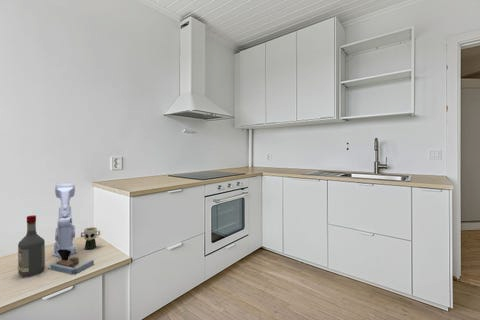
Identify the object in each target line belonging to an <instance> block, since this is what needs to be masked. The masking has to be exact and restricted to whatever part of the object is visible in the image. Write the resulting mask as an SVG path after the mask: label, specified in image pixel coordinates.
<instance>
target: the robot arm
mask: <svg viewBox="0 0 480 320" xmlns="http://www.w3.org/2000/svg"><path fill="white" fill-rule="evenodd" d="M75 185H76V184H75V183H74V182H71V183H70V182H69V183H56V184H55V185H54V186H55V187H54V188H55V189H54V192H55V196H56V198H57V199H59V200H60V204H61V205H60V207H59V208H58V219H57V227H56V228H55V231H54V239H55V242H54V245H53V254H52V256H53V257H58V258H60V259H61V260H65V261H66V260H69V259H70V256H71V255H74V254H76V253H77V251H75V250H76V249H75V247H74V243H73V242H74V241H73V240H74V239H75V238H76V227H75V225H74V224H73V218H72V207H71V206H70V200H71V198H73V197H74V196H75V194H76V193H75V192H76V189H75V188H76V186H75Z"/></svg>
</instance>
